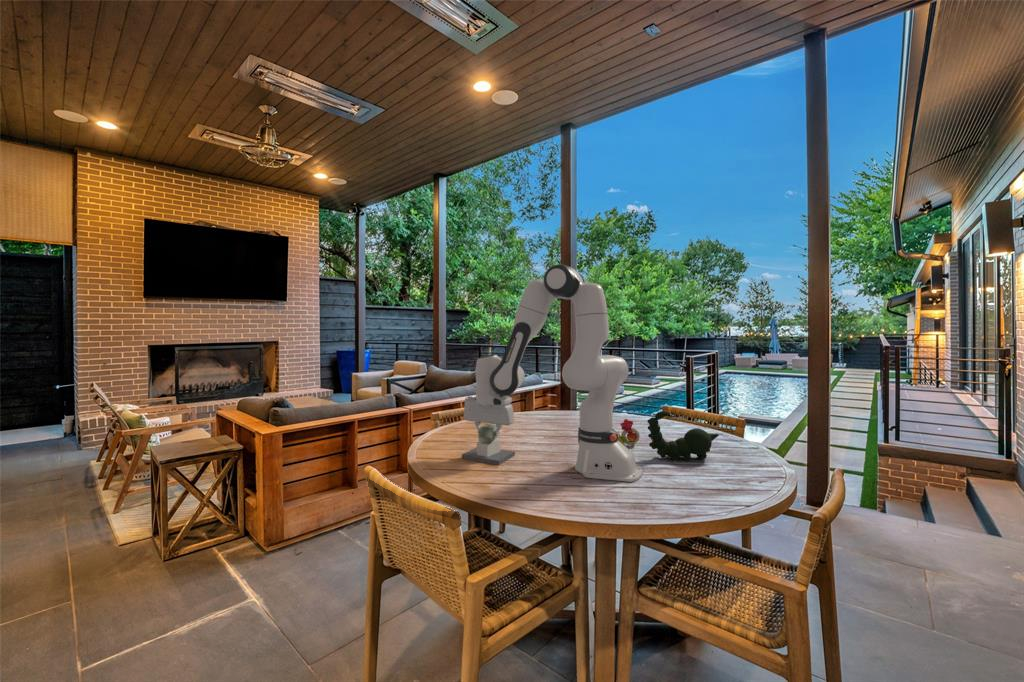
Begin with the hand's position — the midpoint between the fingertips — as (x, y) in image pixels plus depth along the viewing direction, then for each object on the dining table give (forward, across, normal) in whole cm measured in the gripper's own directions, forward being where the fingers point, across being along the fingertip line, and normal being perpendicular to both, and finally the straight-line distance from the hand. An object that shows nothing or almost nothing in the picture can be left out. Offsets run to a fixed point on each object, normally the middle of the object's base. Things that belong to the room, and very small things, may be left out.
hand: (488, 434), depth 166 cm
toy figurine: (+9, +65, +30) cm, 72 cm away
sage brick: (+2, 0, 0) cm, 2 cm away
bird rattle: (+9, +43, +37) cm, 57 cm away
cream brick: (+7, 0, 0) cm, 7 cm away
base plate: (+9, 0, 0) cm, 9 cm away
